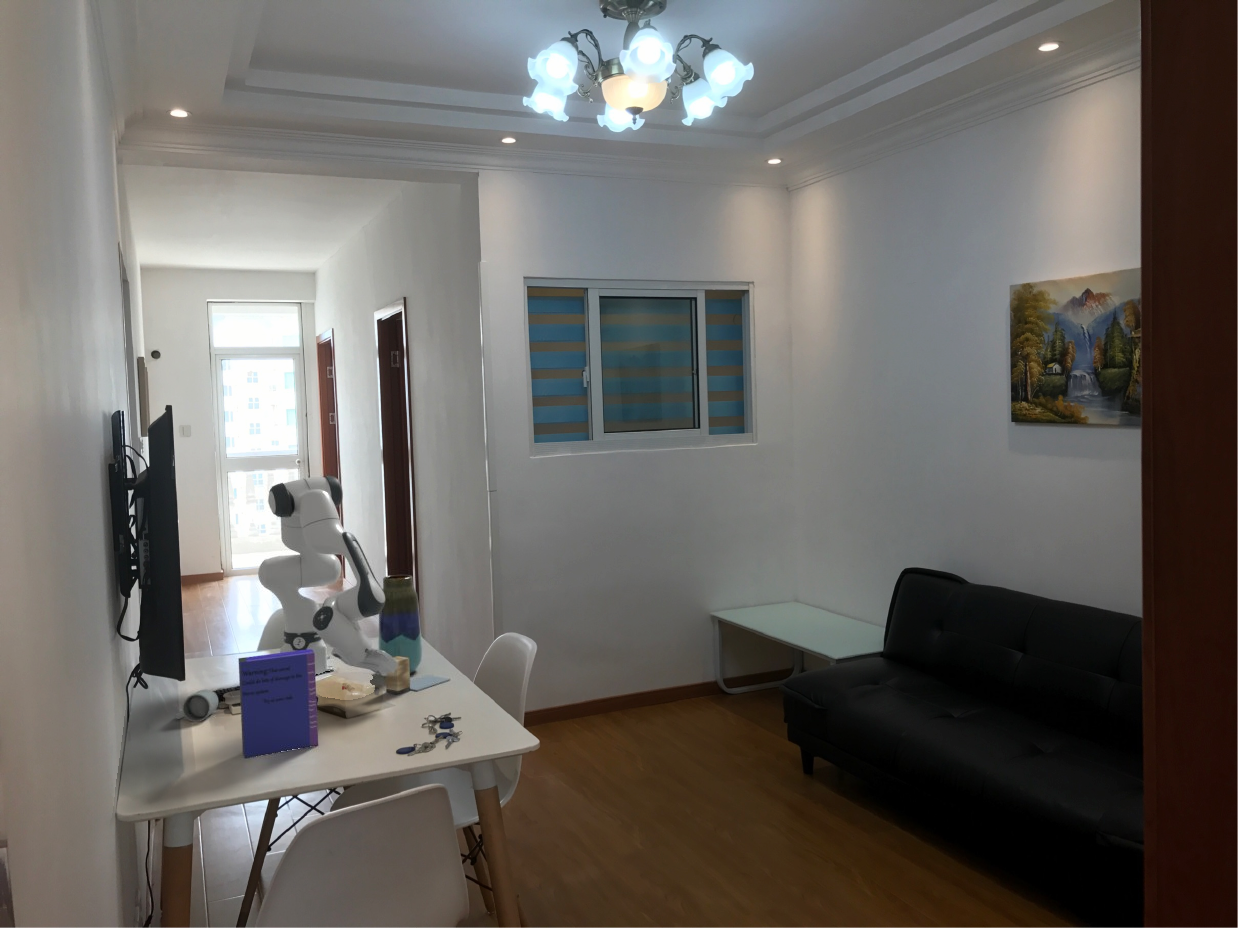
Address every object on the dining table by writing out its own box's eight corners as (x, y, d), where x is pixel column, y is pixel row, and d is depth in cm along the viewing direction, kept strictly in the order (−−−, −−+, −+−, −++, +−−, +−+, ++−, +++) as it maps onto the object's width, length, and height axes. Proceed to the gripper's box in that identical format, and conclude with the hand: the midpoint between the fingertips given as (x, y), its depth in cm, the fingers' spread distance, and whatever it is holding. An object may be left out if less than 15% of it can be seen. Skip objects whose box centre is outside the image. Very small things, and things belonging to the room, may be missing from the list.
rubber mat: (417, 691, 288) (417, 689, 288) (394, 686, 294) (394, 685, 294) (450, 680, 300) (450, 678, 300) (427, 675, 305) (427, 674, 305)
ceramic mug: (220, 712, 272) (219, 685, 272) (210, 721, 264) (209, 693, 264) (182, 714, 272) (180, 687, 271) (171, 723, 263) (169, 696, 263)
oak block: (397, 694, 285) (396, 661, 285) (386, 692, 288) (385, 659, 287) (410, 690, 289) (409, 658, 289) (398, 688, 292) (397, 656, 292)
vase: (419, 664, 320) (416, 572, 319) (426, 674, 307) (422, 578, 306) (377, 669, 315) (373, 575, 314) (382, 679, 302) (378, 581, 301)
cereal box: (315, 740, 246) (311, 648, 245) (318, 745, 241) (314, 651, 240) (242, 752, 238) (238, 657, 237) (244, 758, 233) (240, 661, 232)
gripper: (385, 642, 271) (412, 668, 279) (338, 634, 283) (366, 660, 291) (374, 661, 268) (401, 687, 276) (327, 653, 279) (354, 678, 288)
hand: (383, 673), depth 284 cm, fingers closed
